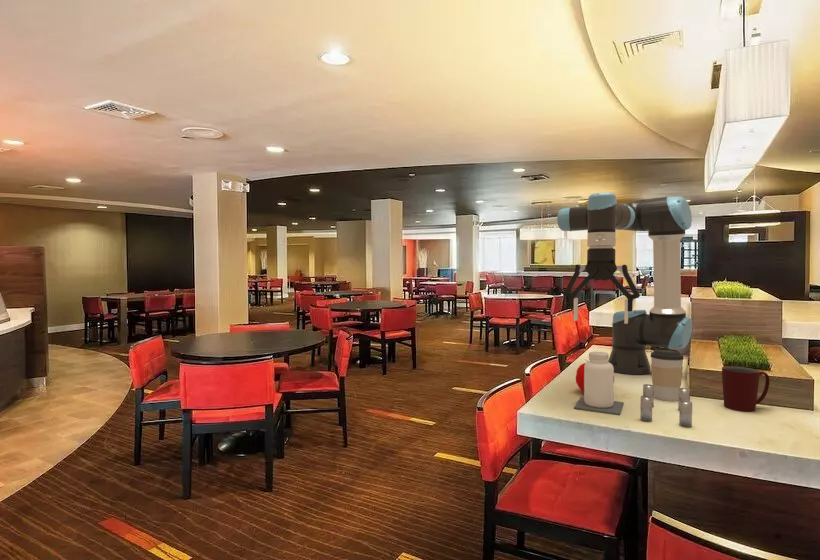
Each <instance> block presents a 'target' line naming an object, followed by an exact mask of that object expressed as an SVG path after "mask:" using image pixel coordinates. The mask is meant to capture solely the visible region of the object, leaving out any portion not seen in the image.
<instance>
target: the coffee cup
mask: <svg viewBox="0 0 820 560" xmlns="http://www.w3.org/2000/svg"><path fill="white" fill-rule="evenodd" d="M650 360H651V361H650V362H651V364H650V372H651V383H652V385H654V399H657V400H661V401H667V402H668V401H669V402H677V401H678V399H679V388H681V387H682V379H683V378H682V377H683V368H684V366H683V363H684V361H683V360H684V355H683V354H682V353H681V351H680V350H678V349H673V348H672V349H669V348H665V347H657V348H655V349H654V350H653V351H652V352H651V353H650Z"/></svg>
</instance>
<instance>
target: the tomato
mask: <svg viewBox="0 0 820 560" xmlns="http://www.w3.org/2000/svg"><path fill="white" fill-rule="evenodd" d="M585 361H586V362H588V360H586V359H585ZM586 362H585V363H586ZM585 363H584V362H583V363H581V364H580V365H579V366H578V368H577V369H576V373H575V384H576V385H577V387H578V388H579V390H581V391H582V392H583V393H584V366H585Z"/></svg>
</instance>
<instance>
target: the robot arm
mask: <svg viewBox="0 0 820 560" xmlns="http://www.w3.org/2000/svg"><path fill="white" fill-rule="evenodd" d="M587 199H588V200H587V205H586V206H573V207H570V206H569V207H566V208H561V209H560V210H559V211H558V213H557V218H556V219H557V220H556V221H557V226H558V228H559V230H560V231H562V232H576V231H587V235H586V237H587V241H586V243H587V244H586V245H587V247H588V248H587V251H586V252H587V254H586V265H581V264H576V265H575V267H574V272H573V275H572V277H571V278H570V280H569V282H568V284H567V286H566V287H565V290H564V291H563V296H565V297H568V298H569V309H571V310H573V322H577V321H578V320H579V298H578V297H576V296H578V294H580V292H581V291H582V290H583V289H584V288H585V287H586V286H587V285H588V284H589V282H590V281H591V280H594V281H608V280H610V282H612V283H613V284H614V285H615V286H616V288H617V289H618V290H619V291H620V292H621V293H622V294H623V295H624V296H625V298H626V299H624V310H623V311H621V310H620V311H617V312H616V311H615V312H614V313H613V315H612V323H611V326H612V335H611V336H612V342H611V343H612V344H611V345H612V346H611V347H612V349H611V352H610V355H609V361H608V362H609V363H611V364H612V365H613V368H614V373H619V374H624V375H636V376H637V375H639V376H640V375H648V374H650V373H651V364H650V362H649V357H648V356H647V353H646V351H647V350H646V346H649V347H657V348H661V347H665V348H669V349H672V350H682V349H685V347H686V346H688V344H689V342H690V340H691V336H692V333H693V332H692V331H693V319H692V318H691V317H690V316H687V311H686V310H685V309H684V308H683V307H682V300H681V299H682V287H681V286H682V285H681V283H682V282H681V278H682V277H681V274H682V273H681V271H682V270H681V269H682V268H681V267H682V266H681V265H682V264H681V261H682V260H681V239H683V237H685V236H686V231H687V230H689V229H690V228H691V227H692V221H693V218H692V217H693V216H692V211H691V206H690V204H689V203H688V201H687V199H686V198H684V197H683V196H665V197H656V198H655V197H654V198H653V197H652V198H646V199H645V198H644V199H637V200H635V199H634V200H631V201H628V202H622V203H619V202H617V195H616V194H615V193H613V192H596V193H592V194H590V195H589V196H588V198H587ZM617 231H632V232H647V235H648V237H649V239H651V240H652V244H653V245H652V246H653V248H652V251H653V252H652V253H653V254H652V255H653V256H652V257H653V258H652V259H653V306H652V308H651V309H649V313H647V311H646V310H645V309H635V310H633V307H634V306H633V305H634V304H633V303H634V302H633V301H634V300H635V299H638V298H640V292H639V291H638V288H637V287H636V285H635V283H634V281H633V279H632V277H631V275H630V274H629V269H628V265H627V264H622V265H617V264H616V249H615V248H614V247H616V246H617V245H616V244H617V243H616V240H617V239H616V237H617V236H616V235H617ZM584 270H585V271H586V273H587V276H586V277H585V278H584V279H583V280H582V282H581V283H579V285H578V286H577V287H576V288H575V289H574V290H573V288H574V286H575V284H576V282H577V280H578V278H579V276H580V274H581V273H583V272H584ZM617 270H618V271H619V272H620V273H621V274H622V275H623V277H624V279H625V280H626V283H627V284H628V286H629V289H630V290H631V292H632V294H631V293H630V292H629V291H628V290H627V288H626V287H625V286H624V285H623V284H622V283H621V282H620V280H619V279H618V278H617V277H616V276H615V275H614V274H615V273H616V272H617ZM572 290H573V291H572ZM571 291H572V292H571Z"/></svg>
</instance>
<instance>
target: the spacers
mask: <svg viewBox="0 0 820 560" xmlns="http://www.w3.org/2000/svg"><path fill="white" fill-rule="evenodd" d="M677 401H678V403H677V404H678V405H677V408H678V409H677V410H678V411H679V413H678V414H679V416H678V417H679V418H678V425H679V427H683V428H692V427H693V426H692V425H693V402H692V401H691V389H690V388H687V387H686V388H685V387H680V388H679V399H678V400H677ZM654 404H655V397H654V385H653V384H648V383H647V384H646V383H644V384H643V385H642V395H641V396H640V415H639V416H640V421H642V422H648V423H651V422H652V421H653V408H654V407H655V405H654Z"/></svg>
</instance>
